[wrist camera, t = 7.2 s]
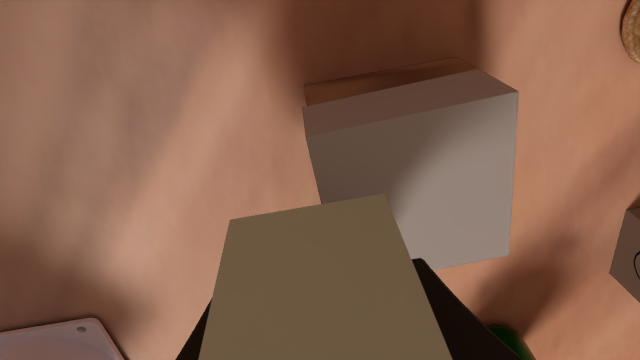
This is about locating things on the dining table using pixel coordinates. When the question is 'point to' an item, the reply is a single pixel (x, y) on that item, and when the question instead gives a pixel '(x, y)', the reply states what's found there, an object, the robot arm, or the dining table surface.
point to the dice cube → (628, 254)
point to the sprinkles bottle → (632, 30)
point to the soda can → (512, 341)
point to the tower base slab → (382, 80)
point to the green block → (320, 289)
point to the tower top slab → (425, 161)
